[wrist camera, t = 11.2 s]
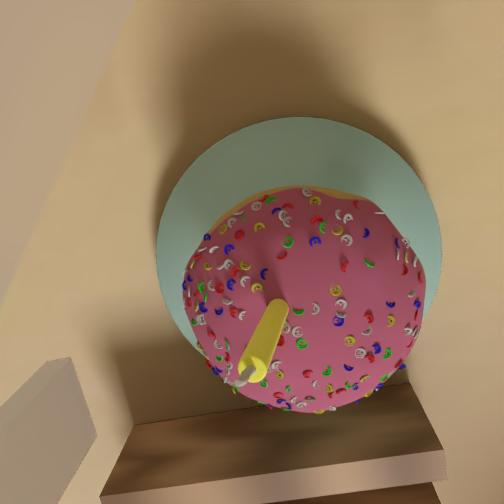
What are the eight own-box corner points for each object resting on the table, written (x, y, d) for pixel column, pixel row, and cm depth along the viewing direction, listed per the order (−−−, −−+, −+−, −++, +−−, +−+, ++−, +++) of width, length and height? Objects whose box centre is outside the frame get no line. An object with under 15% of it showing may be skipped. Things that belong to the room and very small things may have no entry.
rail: (141, 448, 25) (109, 523, 21) (134, 425, 25) (99, 496, 20) (413, 408, 24) (447, 479, 19) (410, 383, 23) (443, 449, 19)
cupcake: (171, 286, 21) (45, 474, 10) (273, 130, 19) (265, 136, 8) (320, 380, 22) (365, 654, 11) (433, 241, 20) (642, 396, 9)
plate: (198, 395, 24) (194, 408, 23) (130, 151, 21) (122, 153, 20) (447, 355, 23) (456, 367, 22) (415, 87, 20) (423, 84, 18)
